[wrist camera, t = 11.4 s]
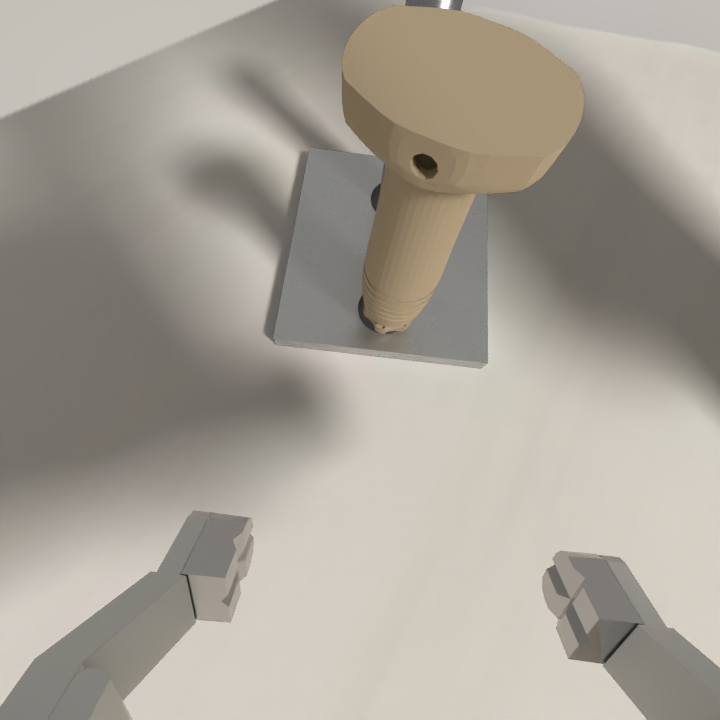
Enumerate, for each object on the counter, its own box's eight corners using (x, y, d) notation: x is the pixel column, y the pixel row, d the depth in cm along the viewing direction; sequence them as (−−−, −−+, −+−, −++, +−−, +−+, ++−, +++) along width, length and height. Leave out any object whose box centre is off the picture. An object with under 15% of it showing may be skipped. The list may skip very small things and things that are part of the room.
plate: (481, 181, 29) (487, 169, 28) (480, 368, 24) (488, 363, 23) (310, 160, 29) (309, 146, 27) (276, 344, 24) (272, 338, 23)
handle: (358, 266, 24) (386, -17, 10) (444, 303, 24) (600, 61, 10) (328, 325, 23) (311, 91, 9) (419, 365, 23) (557, 188, 8)
